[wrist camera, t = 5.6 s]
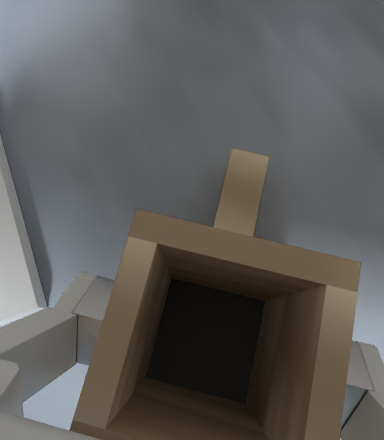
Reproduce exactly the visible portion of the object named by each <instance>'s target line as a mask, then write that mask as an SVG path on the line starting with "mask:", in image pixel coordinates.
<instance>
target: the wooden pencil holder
mask: <svg viewBox="0 0 384 440" xmlns="http://www.w3.org/2000/svg"><path fill="white" fill-rule="evenodd" d="M268 161H269V156H265V155H260V154H256V153H252V152H247V151H243V150H238V149H234V148H232V150H231V154H230V158H229V162H228V167H227V171H226V175H225V179H224V183H223V188H222V192H221V196H220V200H219V204H218V209H217V213H216V217H215V221H214V225H213V227H211V226H207V225H202V224H198V223H194V222H190V221H186V220H182V219H177V218H173V217H169V216H165V215H161V214H156V213H152V212H148V211H144V210H140V209H136V212H135V215H134V219H133V222H132V225H131V229H130V232H129V235H128V239H127V242H126V245H125V249H124V252H123V255H122V259H121V262H120V265H119V268H118V272H117V275H116V278H115V282H114V285H113V288H112V292H111V295H110V298H109V302H108V305H107V308H106V312H105V315H104V318H103V321H102V325H101V328H100V331H99V335H98V338H97V341H96V345H95V348H94V351H93V355H92V358H91V361H90V364H89V368H88V371H87V374H86V378H85V381H84V384H83V388H82V391H81V394H80V398H79V401H78V404H77V408H76V411H75V414H74V417H73V421H72V424H71V427H70V431H73V432H77V433H80V434H84V435H87V436H91V437H94V438H98V439H101V440H340V433H341V425H342V416H343V408H344V400H345V391H346V383H347V375H348V367H349V358H350V350H351V342H352V333H353V325H354V317H355V308H356V300H357V292H358V284H359V275H360V267H361V262H357V261H353V260H349V259H345V258H340V257H336V256H332V255H328V254H324V253H319V252H315V251H311V250H307V249H303V248H299V247H294V246H290V245H286V244H282V243H278V242H273V241H269V240H265V239H261V238H257V237H253V234H254V229H255V224H256V219H257V215H258V210H259V205H260V200H261V195H262V190H263V185H264V181H265V176H266V171H267V166H268ZM171 278H174V279H178V280H182V281H186V282H190V283H194V284H198V285H202V286H206V287H210V288H214V289H218V290H222V291H226V292H230V293H234V294H238V295H242V296H246V297H250V298H254V299H258V300H262V301H265V304H264V310H263V315H262V320H261V326H260V331H259V336H258V342H257V347H256V352H255V358H254V363H253V368H252V374H251V379H250V384H249V390H248V395H247V400H246V404H242V403H239V402H235V401H231V400H227V399H224V398H220V397H216V396H212V395H209V394H205V393H201V392H197V391H194V390H190V389H186V388H183V387H179V386H175V385H171V384H168V383H164V382H160V381H156V380H153V379H149V378H146V374H147V370H148V367H149V363H150V359H151V355H152V351H153V347H154V344H155V340H156V336H157V332H158V328H159V324H160V321H161V317H162V313H163V309H164V305H165V301H166V297H167V294H168V290H169V286H170V282H171Z"/></svg>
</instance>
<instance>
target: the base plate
mask: <svg viewBox="0 0 384 440" xmlns="http://www.w3.org/2000/svg"><path fill="white" fill-rule="evenodd" d="M46 307H47V304H46V300H45V297H44V293H43V289H42V286H41V282H40V278H39V275H38V271H37V267H36V264H35V260H34V256H33V253H32V249H31V245H30V242H29V238H28V234H27V231H26V227H25V223H24V219H23V216H22V212H21V208H20V205H19V201H18V197H17V194H16V190H15V186H14V183H13V179H12V175H11V172H10V168H9V164H8V161H7V157H6V153H5V150H4V146H3V142H2V139H1V135H0V326H2V325H5V324H8V323H10V322H13V321H15V320H18V319H21V318H23V317H26V316H28V315H31V314H33V313H35V312H37V311H40V310H42V309H44V308H46Z"/></svg>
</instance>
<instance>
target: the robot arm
mask: <svg viewBox="0 0 384 440" xmlns="http://www.w3.org/2000/svg"><path fill="white" fill-rule="evenodd" d="M114 282H115V280H112V279H108V278H105V277H101V276H96V275H93V274H89V273H85V272H80V273H79V274H77V276H76V277H75V278H74V280H73V281H72V282H71V284H70V285H69V287H68V288H67V289H66V291H65V292H64V293H63V295H62V296H61V297H60V299H59V300H58V301H57V303H56V304H55V305H54V307H53V308H49V307H46V308H44V309H42V310H40V311H37V312H35V313H33V314H31V315H28V316H26V317H24V318H22V319H19V320H17V321H15V322H13V323H10V324H8V325H6V326H4V327H1V328H0V440H101V439H98V438H94V437H91V436H87V435H84V434H80V433H77V432H73V431H69V430H66V429H62V428H59V427H55V426H52V425H48V424H45V423H41V422H37V421H34V420H30V419H27V418H24V414H23V402H24V401H26V400H27V399H28V398H30V397H31V396H33V395H34V394H35V393H37V392H38V391H40V390H41V389H42V388H44V387H45V386H46V385H48V384H49V383H51V382H52V381H53V380H55V379H56V378H57V377H59V376H60V375H62V374H63V373H64V372H66V371H67V370H69V369H70V368H71V367H73V366H74V365H75V364H76V362H77V363H81V364H85V365H89V364H90V361H91V358H92V355H93V351H94V348H95V345H96V341H97V338H98V335H99V331H100V328H101V325H102V321H103V318H104V315H105V312H106V308H107V305H108V302H109V298H110V295H111V292H112V288H113V285H114ZM340 437H341V439H342V440H384V365H383V362H382V360H381V357H380V354H379V351H378V349H377V348H376V347H375V345H371V344H367V343H362V342H358V341H353V340H352V342H351V350H350V358H349V367H348V375H347V383H346V391H345V400H344V408H343V416H342V425H341V433H340Z"/></svg>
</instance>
